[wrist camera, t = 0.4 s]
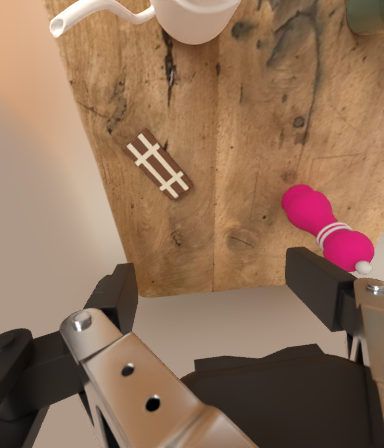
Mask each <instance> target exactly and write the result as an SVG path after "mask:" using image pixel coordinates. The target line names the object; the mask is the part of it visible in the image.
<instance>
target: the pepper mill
mask: <svg viewBox="0 0 384 448" xmlns="http://www.w3.org/2000/svg"><path fill="white" fill-rule="evenodd" d="M282 207H283V209H284V210H285V211H286V212H287V216H288V219H289V221H290V222H291V223H292V224H293V225H294V226H296V227H298V228H299V229H302V230H304V231H307V232H309V233H311V234H313V235H314V236H315V237H316V238H317V239H316V242H317V244H318V246H319V247H320V248H321V249H322V250H323V254H324V257H325V258H326V259H327V260H329V261H331V262H332V263H333V264H335V265H337V266H339V267H340V268H342V269H344V270H345V271H347V272H354V271H357V272H358V273H360V274H364V275H367V274H369V273H371V271H372V266H371V264H370V262H371V260H372V259H373V256H374V247H373V244H372V242H371V241H370V239H369V238H368V237H366V236H365V235H364V234H362V233H360V232H357V231H353V230H352V229H351V228H350V227H349V226H348V225H347V224H345V223H341V222H338V221H337V219H336V218H335V217H334V215H333V213H332V207H331V204H330V202H329V200H328V199H327V198H326V197H325V196H324V195H323V194H322V193H320V192H318V191H314V190H313V189H312V188H310V187H309V186H307V185H296V186H294V187H292V188H290V189H289V190H288V191H286V193H285V194H284V196H283V198H282Z"/></svg>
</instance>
